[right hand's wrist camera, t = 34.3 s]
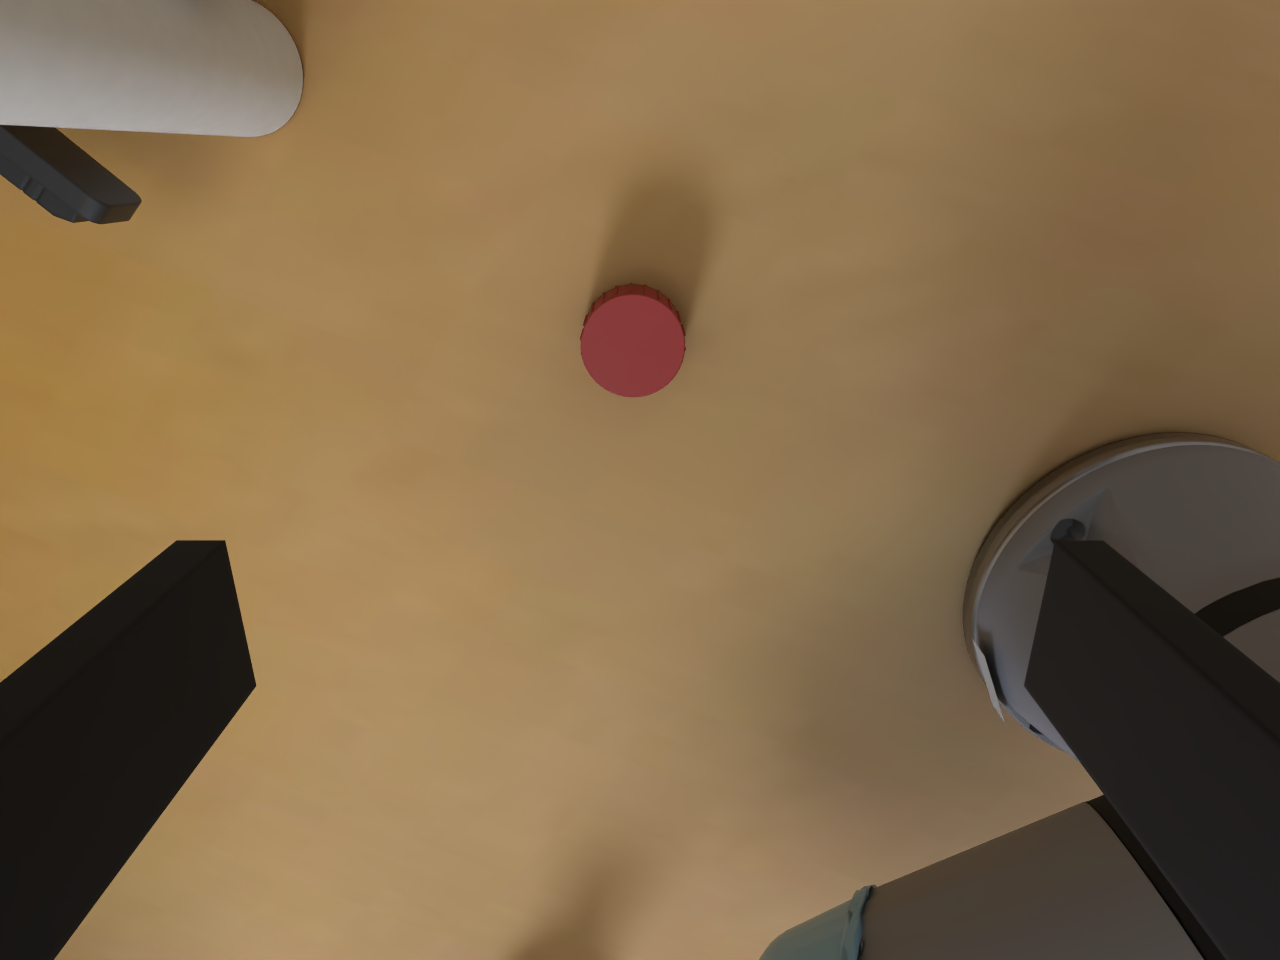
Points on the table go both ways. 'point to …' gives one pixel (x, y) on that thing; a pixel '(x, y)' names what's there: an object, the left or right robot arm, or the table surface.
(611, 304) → the cap
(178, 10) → the bottle
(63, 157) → the left robot arm
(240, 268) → the table surface
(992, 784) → the table surface
